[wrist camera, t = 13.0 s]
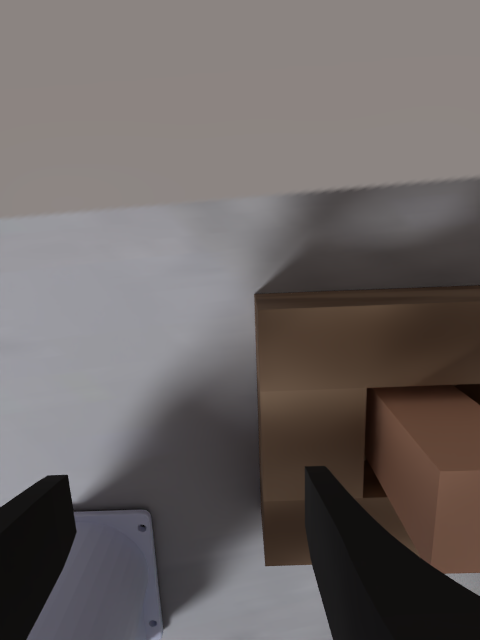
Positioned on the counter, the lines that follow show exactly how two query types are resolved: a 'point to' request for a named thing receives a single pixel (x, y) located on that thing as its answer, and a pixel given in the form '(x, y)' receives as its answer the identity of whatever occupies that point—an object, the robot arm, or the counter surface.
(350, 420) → the socket block
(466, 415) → the peg
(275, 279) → the counter surface
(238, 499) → the counter surface
